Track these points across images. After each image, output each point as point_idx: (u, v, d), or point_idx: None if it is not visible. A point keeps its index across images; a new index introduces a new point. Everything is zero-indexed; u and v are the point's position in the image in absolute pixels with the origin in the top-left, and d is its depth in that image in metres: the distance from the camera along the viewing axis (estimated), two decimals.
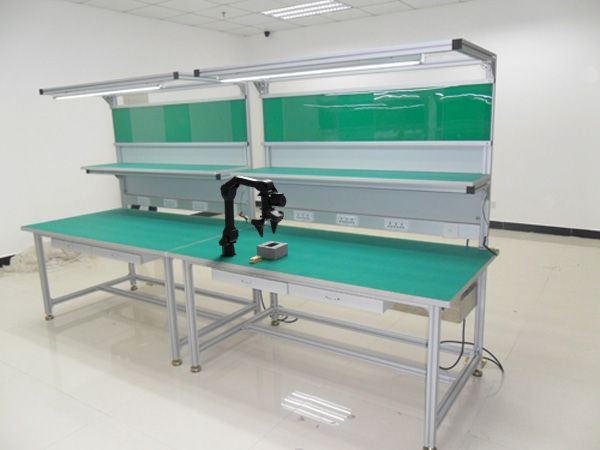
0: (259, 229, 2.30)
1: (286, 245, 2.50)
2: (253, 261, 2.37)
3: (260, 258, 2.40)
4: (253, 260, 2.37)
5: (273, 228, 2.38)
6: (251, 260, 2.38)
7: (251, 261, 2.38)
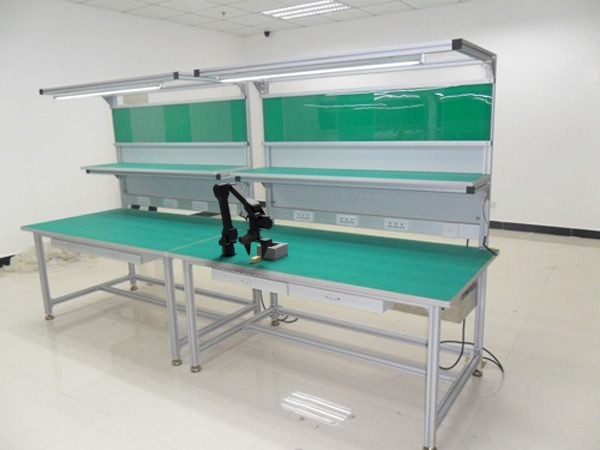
0: None
1: (286, 245, 2.50)
2: (253, 261, 2.37)
3: (260, 258, 2.40)
4: (253, 260, 2.37)
5: None
6: (251, 260, 2.38)
7: (251, 261, 2.38)
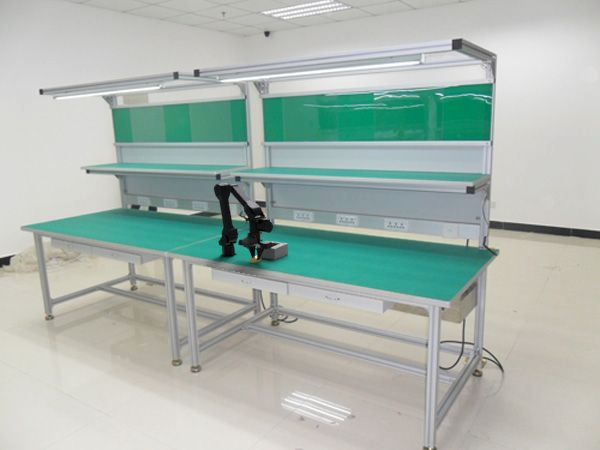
0: None
1: (286, 245, 2.50)
2: (253, 260, 2.37)
3: (260, 258, 2.40)
4: (253, 259, 2.37)
5: None
6: (251, 259, 2.38)
7: (251, 260, 2.38)
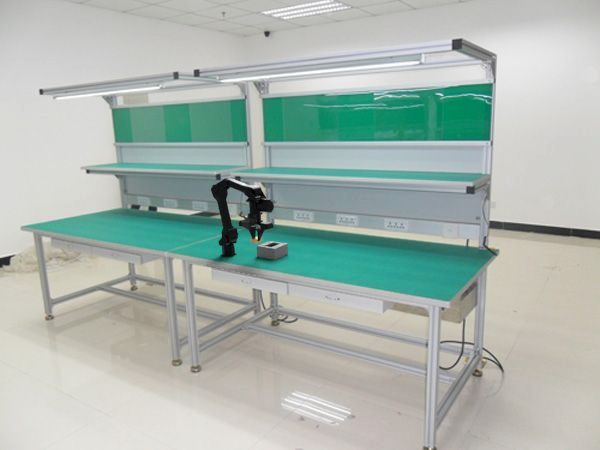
0: None
1: (286, 245, 2.50)
2: (253, 241, 2.36)
3: (260, 239, 2.39)
4: (253, 240, 2.35)
5: None
6: (251, 240, 2.36)
7: (251, 241, 2.36)
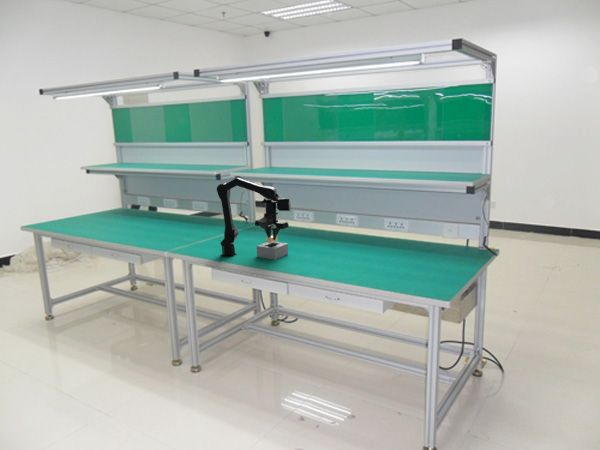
0: None
1: (286, 245, 2.50)
2: (269, 240, 2.45)
3: (276, 238, 2.49)
4: (269, 239, 2.45)
5: None
6: (267, 239, 2.46)
7: (267, 240, 2.46)
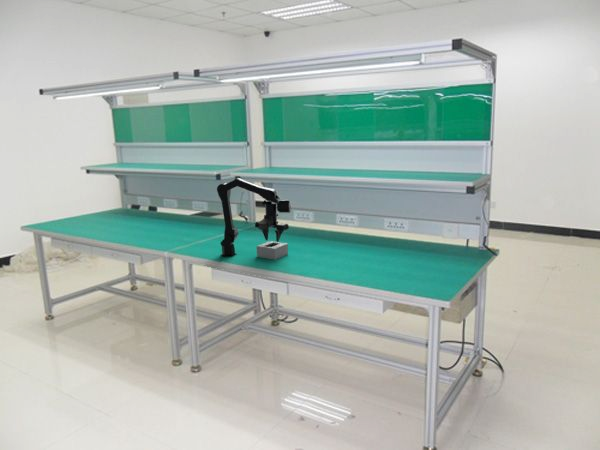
0: None
1: (286, 245, 2.50)
2: None
3: None
4: None
5: None
6: None
7: None
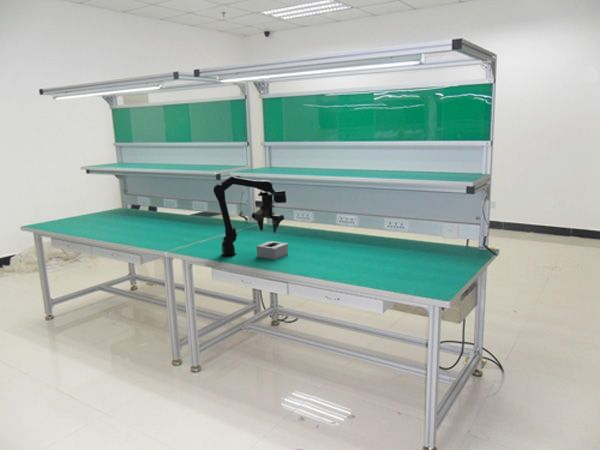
0: None
1: (286, 245, 2.50)
2: None
3: None
4: None
5: None
6: None
7: None
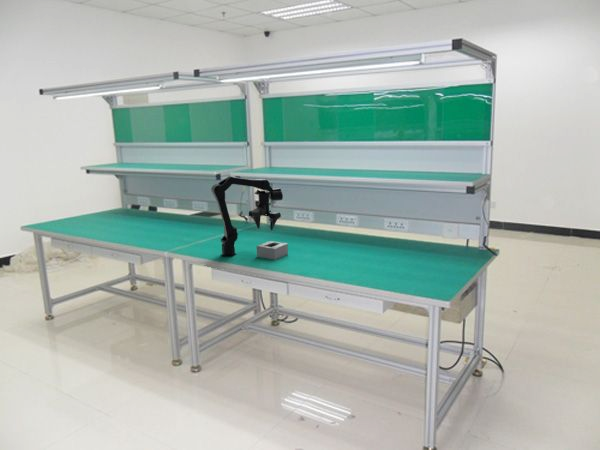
0: None
1: (286, 245, 2.50)
2: None
3: None
4: None
5: None
6: None
7: None
